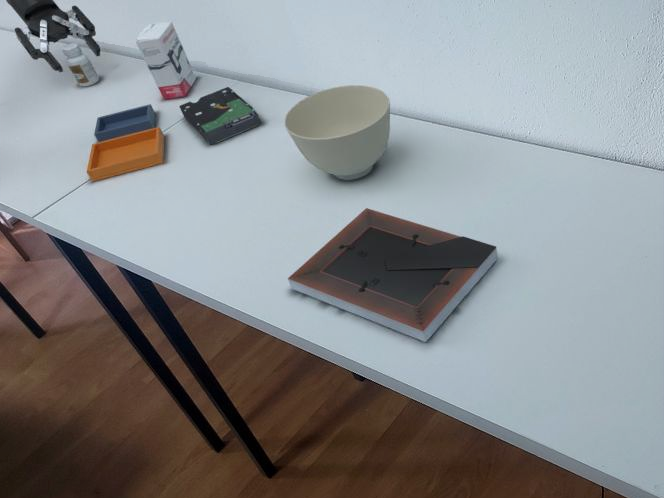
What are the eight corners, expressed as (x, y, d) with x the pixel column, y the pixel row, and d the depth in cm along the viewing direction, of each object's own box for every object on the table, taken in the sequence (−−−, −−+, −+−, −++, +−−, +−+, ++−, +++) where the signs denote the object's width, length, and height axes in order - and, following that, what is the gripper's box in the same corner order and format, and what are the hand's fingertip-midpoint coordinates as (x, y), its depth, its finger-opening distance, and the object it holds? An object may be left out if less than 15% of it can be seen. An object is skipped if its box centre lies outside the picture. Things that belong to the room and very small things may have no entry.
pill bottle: (75, 86, 140) (54, 50, 134) (90, 76, 142) (70, 41, 137) (89, 87, 138) (68, 51, 133) (104, 78, 141) (84, 42, 135)
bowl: (402, 190, 97) (388, 129, 89) (299, 205, 97) (277, 146, 90) (402, 136, 108) (390, 78, 100) (309, 150, 108) (290, 93, 101)
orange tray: (92, 181, 110) (86, 171, 109) (98, 153, 117) (92, 143, 115) (163, 163, 112) (158, 152, 110) (164, 136, 118) (159, 126, 117)
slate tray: (99, 144, 120) (93, 134, 118) (103, 127, 124) (97, 117, 123) (154, 130, 121) (149, 120, 119) (155, 113, 126) (150, 104, 124)
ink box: (186, 97, 129) (158, 37, 120) (162, 100, 129) (133, 40, 121) (197, 78, 135) (171, 19, 126) (174, 81, 135) (147, 23, 126)
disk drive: (184, 120, 122) (210, 146, 113) (177, 106, 120) (204, 132, 111) (233, 99, 126) (263, 124, 117) (228, 85, 124) (257, 109, 115)
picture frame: (498, 261, 83) (370, 221, 92) (496, 245, 81) (366, 206, 91) (426, 345, 74) (293, 291, 84) (422, 330, 72) (287, 277, 82)
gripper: (-12, -4, 127) (45, 65, 130) (56, -28, 134) (109, 38, 136) (-4, 20, 134) (51, 85, 137) (61, -5, 140) (111, 58, 143)
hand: (80, 61), depth 136 cm, fingers open, 8 cm apart
